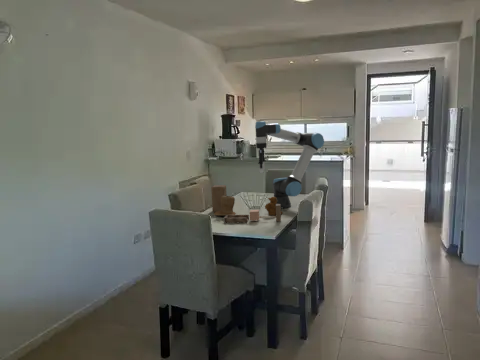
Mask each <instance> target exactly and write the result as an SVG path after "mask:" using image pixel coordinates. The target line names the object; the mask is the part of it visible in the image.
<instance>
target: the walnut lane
mask: <svg viewBox="0 0 480 360" xmlns="http://www.w3.org/2000/svg"><path fill="white" fill-rule="evenodd" d="M249 221H250V214H235V215H226V216H224V218H223V223H224V224H247V223H248V222H249Z"/></svg>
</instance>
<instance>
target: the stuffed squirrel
mask: <svg viewBox="0 0 480 360" xmlns="http://www.w3.org/2000/svg"><path fill="white" fill-rule="evenodd" d="M268 201H270V202H268V203H266V204H265V205H264V209H265V210H266V211H267V214H268V216H276V203H277V201H278V200H277V198H276V197H274V196H271V197H268ZM282 214H283V211H281V215H282Z"/></svg>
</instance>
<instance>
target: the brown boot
mask: <svg viewBox="0 0 480 360" xmlns="http://www.w3.org/2000/svg"><path fill="white" fill-rule="evenodd" d="M235 201H236V199H235V197H234V196H230V195H229V196H228V195H227V196H222V197H221V206H222V210H221V211H216V212H213V215H214V216H217V217H225V216H226V215H237V213H236V212H235V211H234V207H235Z"/></svg>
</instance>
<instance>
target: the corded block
mask: <svg viewBox="0 0 480 360" xmlns="http://www.w3.org/2000/svg"><path fill="white" fill-rule="evenodd" d="M281 210H282V208H281V206H280V204H276V215H275V216H270V215H262V216H261V215H260V209H250V210H249V221H260V219H273V218H275V221H276V222H281V221H282V214H281Z"/></svg>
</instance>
